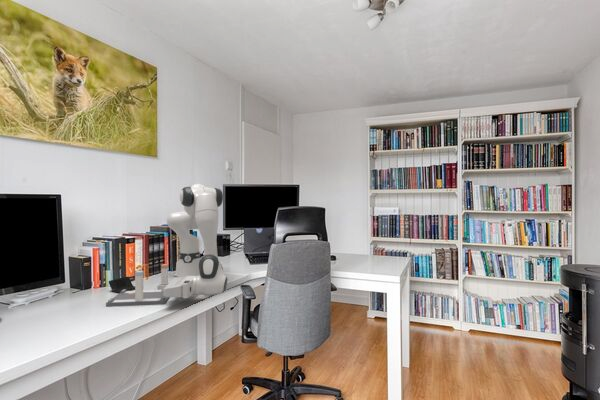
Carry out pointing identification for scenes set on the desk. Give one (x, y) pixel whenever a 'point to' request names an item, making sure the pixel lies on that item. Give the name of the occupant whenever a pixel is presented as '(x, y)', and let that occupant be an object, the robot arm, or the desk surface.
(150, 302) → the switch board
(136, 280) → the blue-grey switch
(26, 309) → the desk surface
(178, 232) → the robot arm
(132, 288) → the handheld gaming console
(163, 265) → the grey upright post
